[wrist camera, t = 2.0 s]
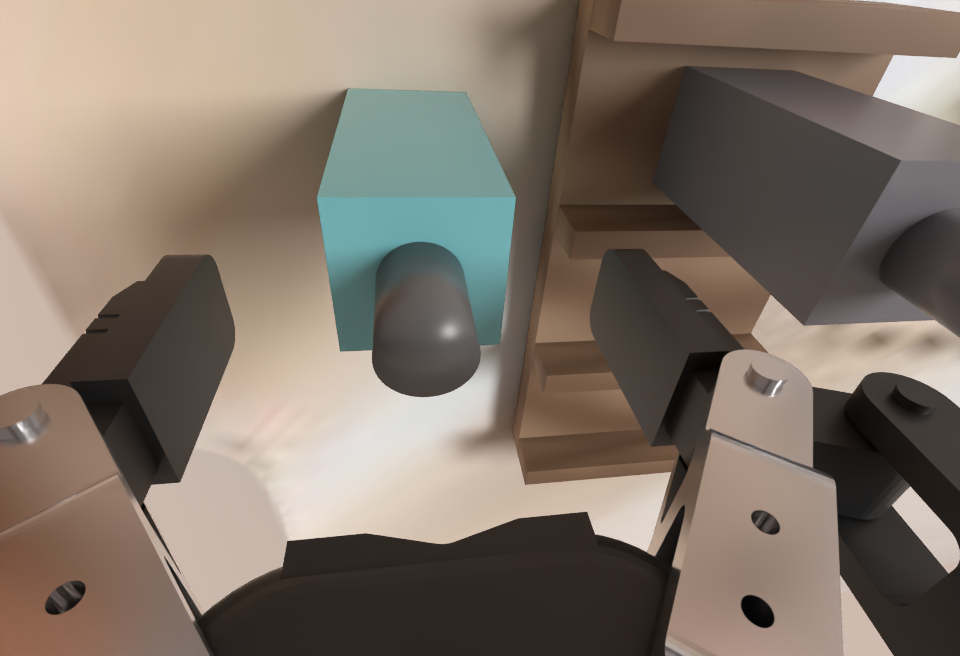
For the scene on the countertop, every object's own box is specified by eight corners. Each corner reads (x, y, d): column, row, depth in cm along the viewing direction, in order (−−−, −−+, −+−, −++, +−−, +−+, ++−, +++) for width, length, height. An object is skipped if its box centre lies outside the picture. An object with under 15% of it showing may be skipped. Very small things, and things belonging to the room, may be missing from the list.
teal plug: (348, 88, 15) (295, 268, 7) (466, 92, 15) (547, 263, 7) (358, 200, 17) (329, 436, 9) (461, 200, 18) (520, 423, 10)
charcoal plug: (685, 65, 15) (1045, 223, 7) (794, 69, 15) (1249, 221, 7) (652, 182, 17) (890, 407, 9) (747, 183, 17) (1054, 395, 9)
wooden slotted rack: (582, -18, 14) (623, -8, 12) (886, 2, 15) (980, 15, 13) (512, 432, 26) (525, 484, 24) (687, 420, 28) (716, 467, 25)
